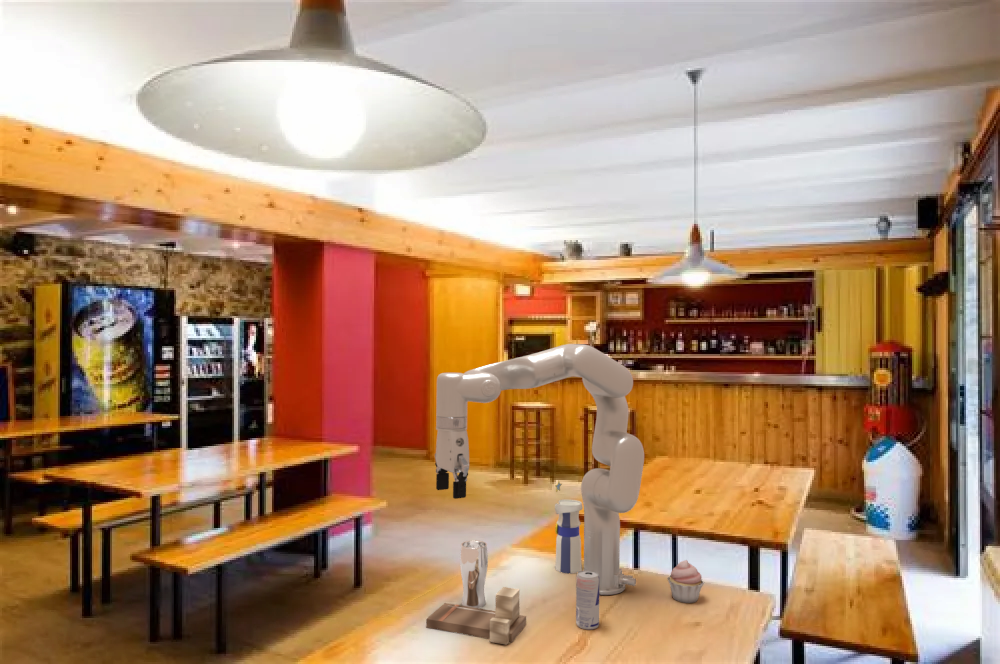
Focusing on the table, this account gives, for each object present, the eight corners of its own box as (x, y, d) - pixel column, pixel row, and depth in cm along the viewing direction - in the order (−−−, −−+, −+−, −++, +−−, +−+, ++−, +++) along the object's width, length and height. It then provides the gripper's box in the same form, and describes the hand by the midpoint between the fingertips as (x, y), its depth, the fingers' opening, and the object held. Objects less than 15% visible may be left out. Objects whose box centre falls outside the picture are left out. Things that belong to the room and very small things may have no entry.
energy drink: (601, 622, 159) (601, 571, 159) (596, 631, 154) (597, 579, 154) (578, 619, 161) (579, 568, 161) (573, 628, 156) (574, 576, 156)
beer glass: (488, 599, 173) (489, 540, 173) (485, 610, 166) (486, 549, 166) (462, 597, 174) (462, 539, 174) (457, 608, 167) (458, 548, 167)
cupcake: (704, 608, 168) (704, 568, 168) (665, 603, 171) (665, 563, 171) (704, 594, 177) (705, 556, 177) (668, 589, 180) (668, 552, 180)
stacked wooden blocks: (522, 624, 157) (523, 585, 157) (506, 644, 147) (506, 603, 147) (506, 621, 158) (506, 583, 158) (489, 641, 148) (489, 600, 148)
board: (526, 624, 158) (526, 615, 158) (511, 642, 148) (511, 633, 148) (444, 611, 165) (444, 602, 165) (426, 627, 156) (426, 618, 156)
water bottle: (550, 572, 193) (550, 484, 193) (557, 562, 201) (558, 478, 201) (578, 575, 190) (578, 487, 190) (585, 566, 198) (585, 481, 198)
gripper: (481, 427, 159) (480, 499, 159) (450, 418, 174) (449, 485, 174) (452, 428, 155) (451, 503, 155) (423, 420, 170) (422, 487, 170)
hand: (450, 493), depth 164 cm, fingers open, 9 cm apart
